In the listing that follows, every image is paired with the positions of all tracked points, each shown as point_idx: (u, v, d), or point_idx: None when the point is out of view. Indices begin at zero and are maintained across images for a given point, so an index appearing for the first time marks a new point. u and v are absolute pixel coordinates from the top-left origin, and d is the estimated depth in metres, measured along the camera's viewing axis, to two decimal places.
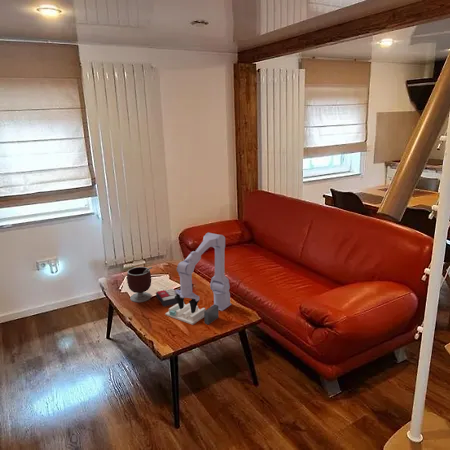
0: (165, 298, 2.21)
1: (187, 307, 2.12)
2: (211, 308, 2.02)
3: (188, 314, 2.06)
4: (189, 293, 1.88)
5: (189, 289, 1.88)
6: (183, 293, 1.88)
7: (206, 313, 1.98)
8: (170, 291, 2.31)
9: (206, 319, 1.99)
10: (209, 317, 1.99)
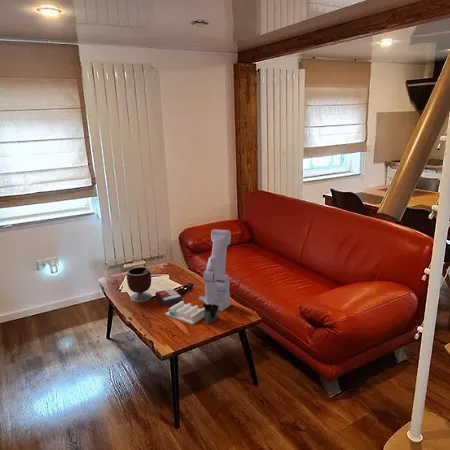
0: (166, 298, 2.21)
1: (187, 307, 2.12)
2: None
3: (188, 314, 2.06)
4: (214, 300, 1.98)
5: (214, 296, 1.97)
6: (208, 300, 1.98)
7: (206, 313, 1.98)
8: (170, 291, 2.31)
9: (206, 319, 1.99)
10: (209, 317, 1.99)
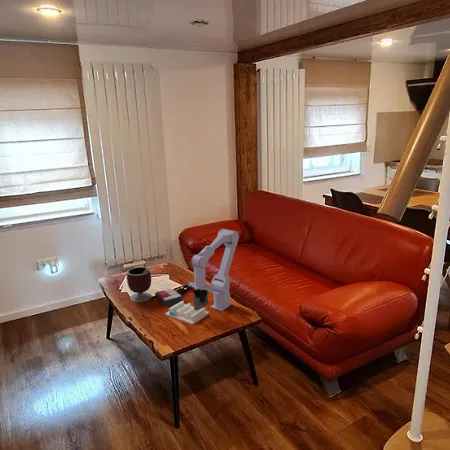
0: (166, 298, 2.21)
1: (187, 307, 2.12)
2: None
3: (188, 314, 2.06)
4: (203, 285, 1.99)
5: (203, 281, 1.98)
6: (197, 285, 1.99)
7: (195, 299, 1.99)
8: (169, 291, 2.31)
9: (196, 305, 2.00)
10: (199, 303, 2.01)
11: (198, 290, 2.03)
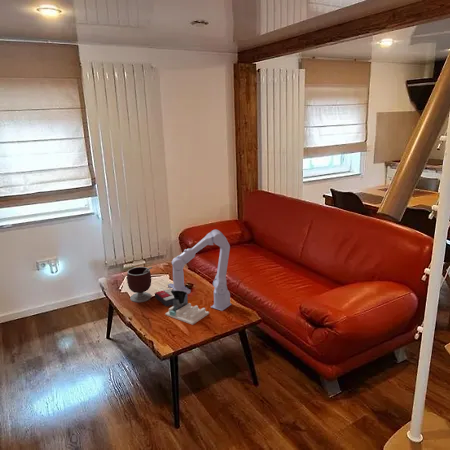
0: (167, 298, 2.21)
1: (187, 307, 2.12)
2: None
3: (188, 314, 2.06)
4: (181, 286, 2.06)
5: (181, 283, 2.06)
6: (175, 286, 2.06)
7: (175, 301, 2.08)
8: (169, 291, 2.31)
9: (175, 307, 2.09)
10: (178, 305, 2.09)
11: (177, 291, 2.11)
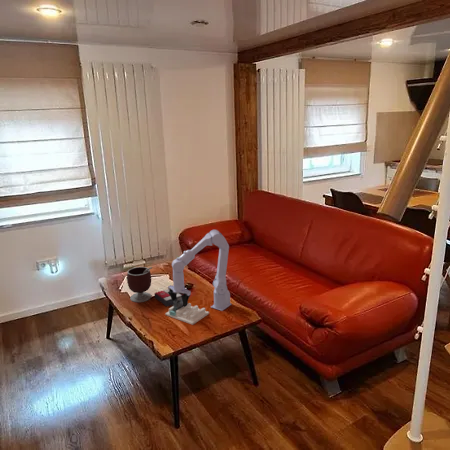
0: (167, 298, 2.21)
1: (187, 307, 2.12)
2: (180, 298, 2.11)
3: (188, 314, 2.06)
4: (181, 288, 2.07)
5: (181, 285, 2.06)
6: (176, 288, 2.07)
7: (175, 302, 2.08)
8: None
9: (175, 308, 2.09)
10: (178, 306, 2.09)
11: (174, 292, 2.12)
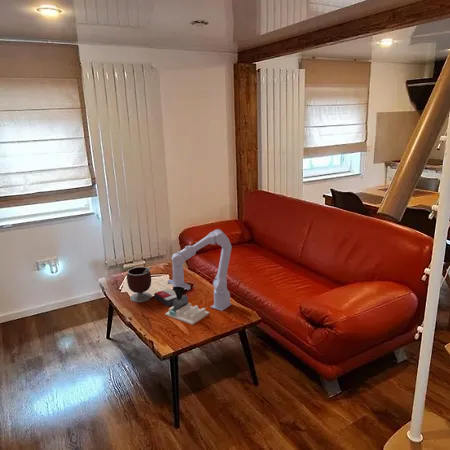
0: (167, 298, 2.21)
1: (187, 307, 2.12)
2: None
3: (188, 314, 2.06)
4: (181, 282, 2.06)
5: (181, 279, 2.05)
6: (175, 282, 2.06)
7: (175, 302, 2.08)
8: (169, 291, 2.31)
9: (175, 308, 2.09)
10: (178, 306, 2.09)
11: None
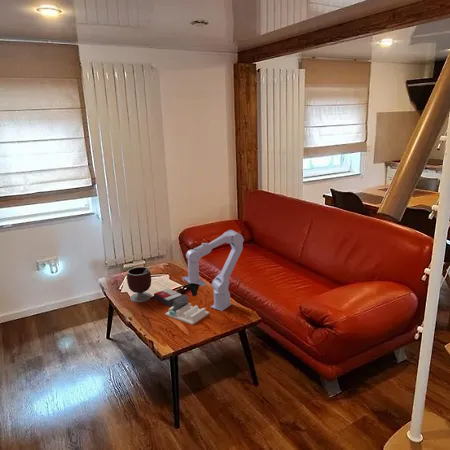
0: (168, 298, 2.22)
1: (187, 307, 2.12)
2: (180, 298, 2.11)
3: (188, 314, 2.06)
4: (196, 279, 2.04)
5: (196, 275, 2.04)
6: (191, 279, 2.04)
7: (175, 302, 2.08)
8: (168, 291, 2.31)
9: (175, 308, 2.09)
10: (178, 306, 2.09)
11: None
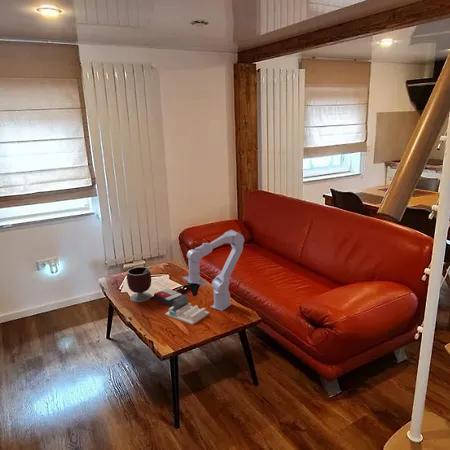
0: (168, 298, 2.22)
1: (187, 307, 2.12)
2: (180, 298, 2.11)
3: (188, 314, 2.06)
4: (197, 279, 2.04)
5: (197, 275, 2.03)
6: (191, 279, 2.04)
7: (175, 302, 2.08)
8: (168, 291, 2.31)
9: (175, 308, 2.09)
10: (178, 306, 2.09)
11: None
